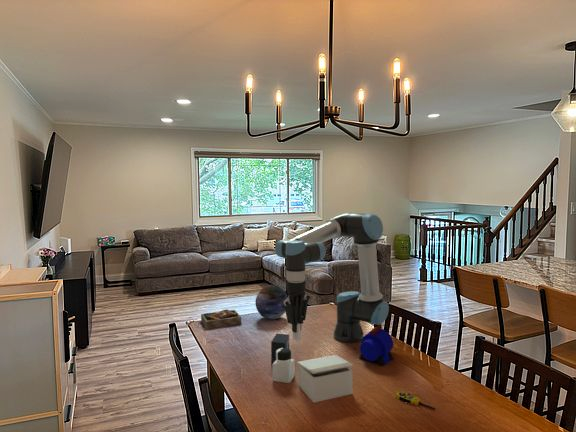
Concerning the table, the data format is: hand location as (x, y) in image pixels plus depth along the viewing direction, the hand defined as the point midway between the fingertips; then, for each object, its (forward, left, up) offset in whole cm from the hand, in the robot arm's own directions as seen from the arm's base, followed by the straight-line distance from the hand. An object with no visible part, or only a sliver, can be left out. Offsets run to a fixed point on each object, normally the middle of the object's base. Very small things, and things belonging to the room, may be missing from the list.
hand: (296, 339), depth 166 cm
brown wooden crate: (+12, -86, -18) cm, 88 cm away
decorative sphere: (-17, -79, -18) cm, 83 cm away
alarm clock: (-40, -6, -18) cm, 45 cm away
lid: (-7, +10, -8) cm, 14 cm away
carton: (-7, +10, -17) cm, 21 cm away
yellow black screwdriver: (-33, +31, -18) cm, 48 cm away
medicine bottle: (+4, -5, -18) cm, 19 cm away
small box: (-1, -22, -18) cm, 29 cm away
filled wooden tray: (+12, -85, -17) cm, 88 cm away
